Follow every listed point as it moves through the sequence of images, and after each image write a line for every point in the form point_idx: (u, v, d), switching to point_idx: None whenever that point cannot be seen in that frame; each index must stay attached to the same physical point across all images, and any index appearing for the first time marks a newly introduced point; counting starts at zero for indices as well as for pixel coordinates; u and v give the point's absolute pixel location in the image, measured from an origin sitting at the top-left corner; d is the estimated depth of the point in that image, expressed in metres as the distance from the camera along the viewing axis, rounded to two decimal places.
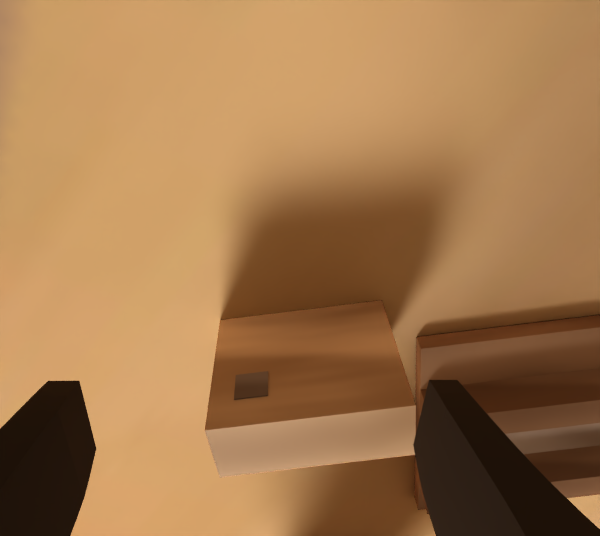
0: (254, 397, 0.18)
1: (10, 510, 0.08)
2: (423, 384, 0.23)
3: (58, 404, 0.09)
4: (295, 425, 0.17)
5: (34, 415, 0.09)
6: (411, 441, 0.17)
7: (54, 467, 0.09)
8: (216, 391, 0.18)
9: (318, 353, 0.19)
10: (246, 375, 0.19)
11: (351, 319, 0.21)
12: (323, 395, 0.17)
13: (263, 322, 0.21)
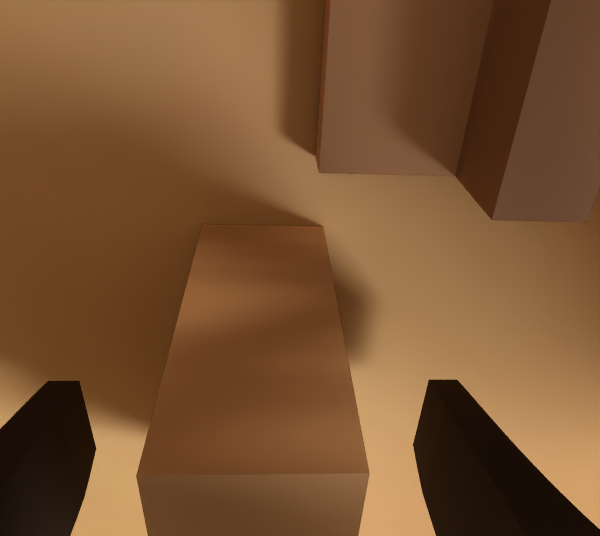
0: None
1: (10, 510, 0.08)
2: (440, 168, 0.09)
3: (58, 404, 0.09)
4: None
5: (34, 415, 0.09)
6: (302, 481, 0.06)
7: (54, 467, 0.09)
8: None
9: None
10: None
11: None
12: None
13: None
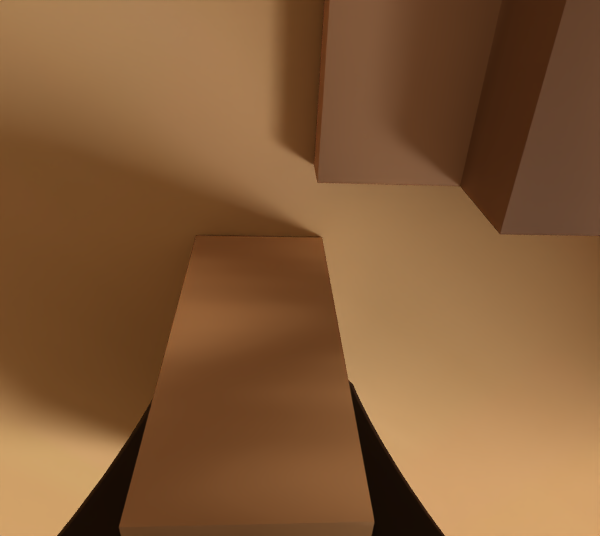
0: None
1: None
2: (444, 178, 0.09)
3: None
4: None
5: None
6: (300, 530, 0.05)
7: None
8: None
9: None
10: None
11: None
12: None
13: None
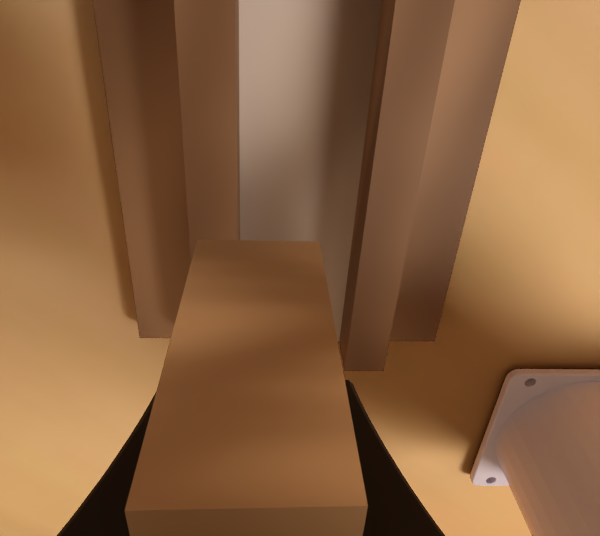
0: None
1: None
2: None
3: None
4: None
5: None
6: (298, 514, 0.05)
7: None
8: None
9: None
10: None
11: None
12: None
13: None
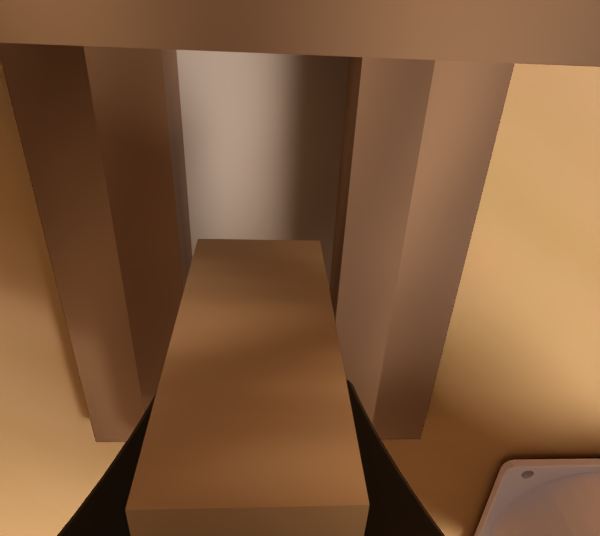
0: None
1: None
2: None
3: None
4: None
5: None
6: (299, 514, 0.05)
7: None
8: None
9: None
10: None
11: None
12: None
13: None
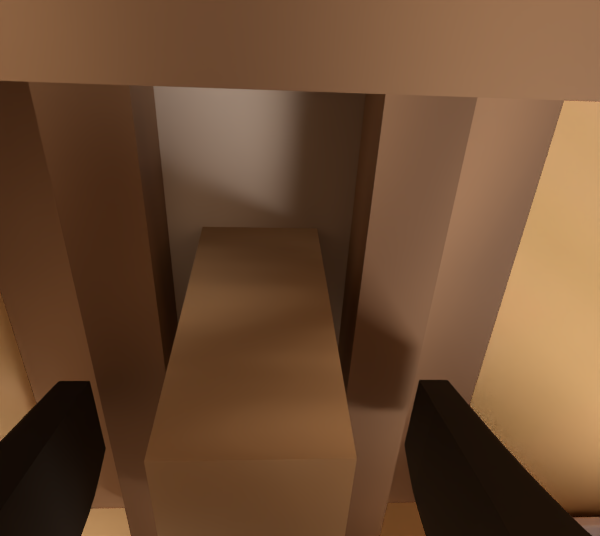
0: None
1: (24, 510, 0.08)
2: None
3: (70, 404, 0.09)
4: None
5: (46, 415, 0.09)
6: (295, 466, 0.06)
7: (66, 467, 0.09)
8: None
9: None
10: None
11: None
12: None
13: None
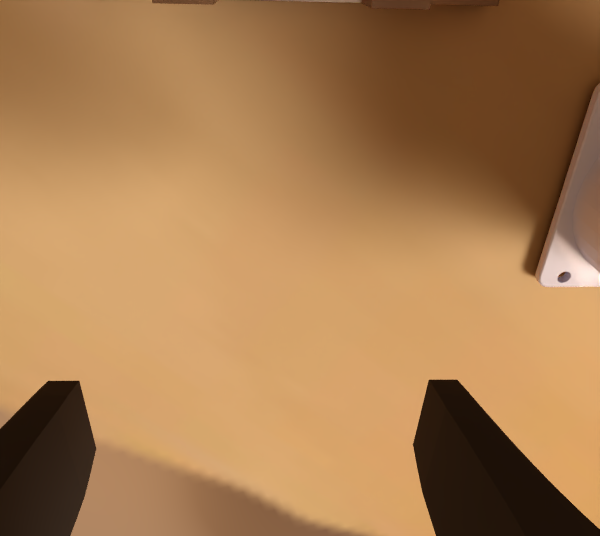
0: None
1: (10, 510, 0.08)
2: None
3: (58, 404, 0.09)
4: None
5: (34, 415, 0.09)
6: None
7: (54, 467, 0.09)
8: None
9: None
10: None
11: None
12: None
13: None
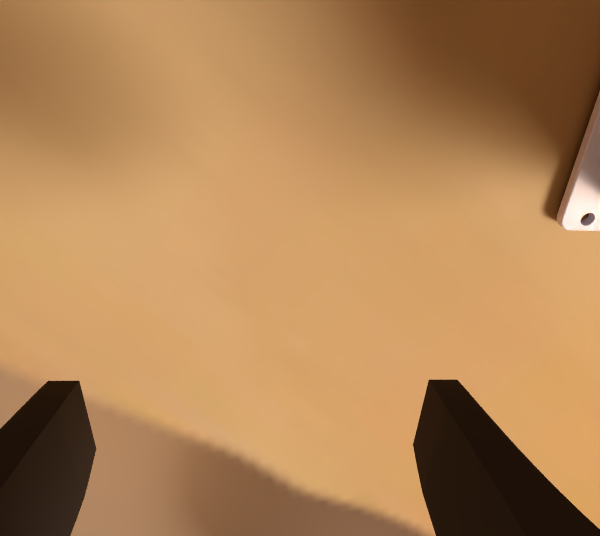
0: None
1: (10, 510, 0.08)
2: None
3: (58, 404, 0.09)
4: None
5: (34, 415, 0.09)
6: None
7: (54, 467, 0.09)
8: None
9: None
10: None
11: None
12: None
13: None
